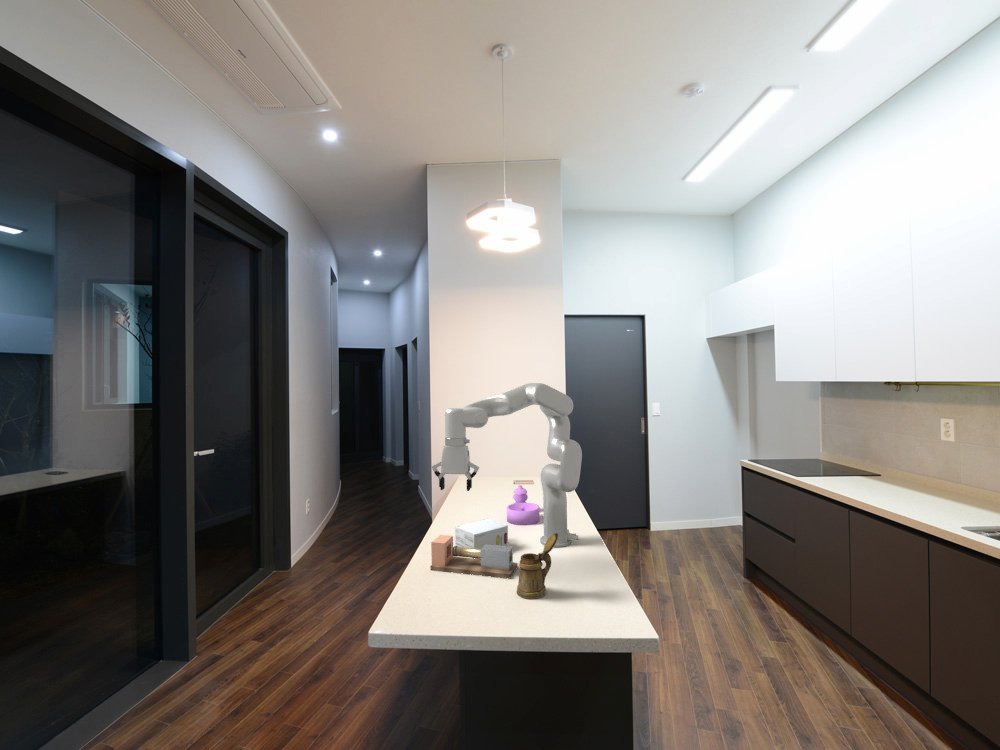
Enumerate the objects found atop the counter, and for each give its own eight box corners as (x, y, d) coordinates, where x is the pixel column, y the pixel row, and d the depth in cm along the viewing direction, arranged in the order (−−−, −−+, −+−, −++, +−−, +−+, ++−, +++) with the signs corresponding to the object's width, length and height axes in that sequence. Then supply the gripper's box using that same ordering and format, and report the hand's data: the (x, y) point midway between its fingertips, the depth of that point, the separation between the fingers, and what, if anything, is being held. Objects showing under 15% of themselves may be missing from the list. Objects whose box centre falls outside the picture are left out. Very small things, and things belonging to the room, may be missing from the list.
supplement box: (474, 559, 173) (474, 534, 173) (454, 549, 183) (454, 526, 183) (509, 548, 184) (508, 524, 184) (488, 539, 194) (488, 517, 194)
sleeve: (512, 565, 163) (512, 546, 163) (509, 571, 158) (508, 551, 158) (485, 562, 166) (485, 544, 166) (481, 568, 161) (480, 549, 161)
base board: (517, 567, 165) (517, 562, 165) (510, 578, 156) (510, 574, 156) (441, 559, 173) (441, 555, 173) (430, 570, 164) (430, 565, 164)
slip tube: (510, 559, 162) (510, 549, 162) (508, 563, 159) (508, 553, 159) (455, 554, 168) (455, 544, 168) (452, 557, 165) (452, 548, 165)
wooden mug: (562, 596, 142) (561, 537, 142) (519, 600, 140) (518, 540, 140) (555, 584, 151) (554, 528, 151) (514, 587, 149) (513, 531, 149)
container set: (541, 525, 212) (541, 496, 212) (508, 526, 211) (507, 497, 211) (535, 509, 237) (534, 483, 237) (505, 510, 236) (504, 484, 236)
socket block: (453, 557, 171) (452, 535, 171) (444, 566, 163) (444, 543, 163) (440, 556, 172) (440, 534, 172) (431, 564, 165) (431, 542, 165)
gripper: (480, 441, 172) (480, 488, 171) (435, 440, 174) (435, 486, 174) (476, 444, 164) (477, 492, 164) (429, 443, 166) (429, 491, 166)
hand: (455, 489), depth 169 cm, fingers open, 9 cm apart
